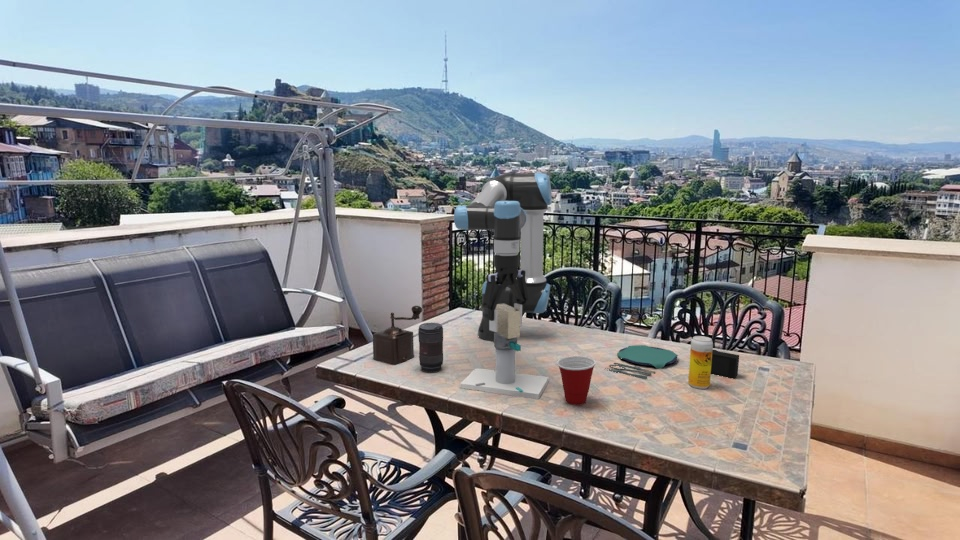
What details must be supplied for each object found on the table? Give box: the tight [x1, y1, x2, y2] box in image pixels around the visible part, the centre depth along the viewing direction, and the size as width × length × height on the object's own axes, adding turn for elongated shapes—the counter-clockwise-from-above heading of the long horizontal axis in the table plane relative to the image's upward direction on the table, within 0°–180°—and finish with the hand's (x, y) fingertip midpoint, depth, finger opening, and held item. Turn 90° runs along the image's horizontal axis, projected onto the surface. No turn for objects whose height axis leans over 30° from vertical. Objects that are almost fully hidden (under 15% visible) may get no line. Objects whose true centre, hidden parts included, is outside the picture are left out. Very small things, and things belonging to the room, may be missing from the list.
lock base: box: [459, 348, 550, 400], centre depth 159 cm, size 14×24×12 cm, turn 71°
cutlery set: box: [604, 344, 679, 380], centre depth 180 cm, size 20×30×2 cm, turn 139°
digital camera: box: [711, 349, 740, 380], centre depth 170 cm, size 10×5×7 cm, turn 52°
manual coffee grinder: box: [372, 305, 423, 366], centre depth 184 cm, size 16×11×18 cm
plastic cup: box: [556, 355, 597, 406], centre depth 147 cm, size 11×11×12 cm
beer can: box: [687, 335, 714, 390], centre depth 158 cm, size 6×6×15 cm
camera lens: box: [417, 322, 444, 373], centre depth 172 cm, size 8×8×15 cm
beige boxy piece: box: [493, 304, 522, 352], centre depth 156 cm, size 13×7×12 cm, turn 26°
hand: (505, 327), depth 157 cm, fingers open, 9 cm apart
